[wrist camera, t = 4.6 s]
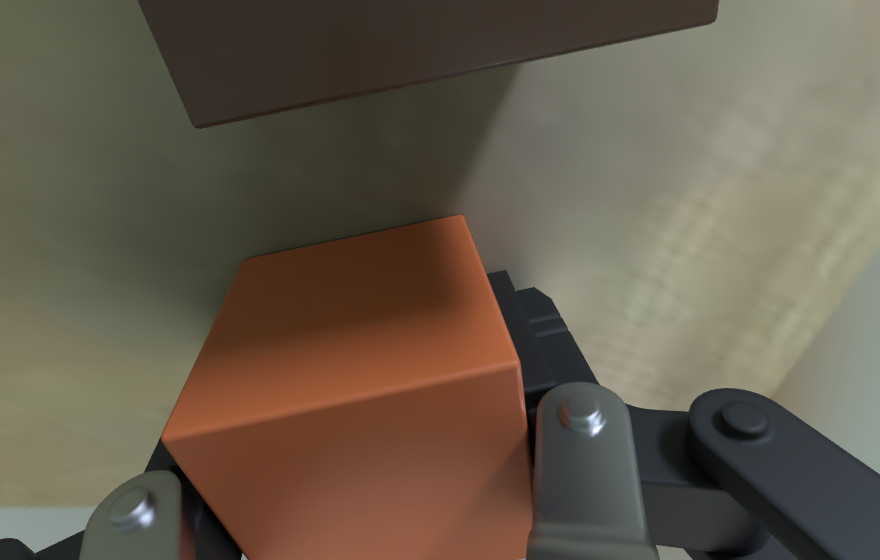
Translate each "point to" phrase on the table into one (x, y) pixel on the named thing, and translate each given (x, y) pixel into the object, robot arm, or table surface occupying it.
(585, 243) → the table surface
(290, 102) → the block
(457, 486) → the block
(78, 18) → the table surface
